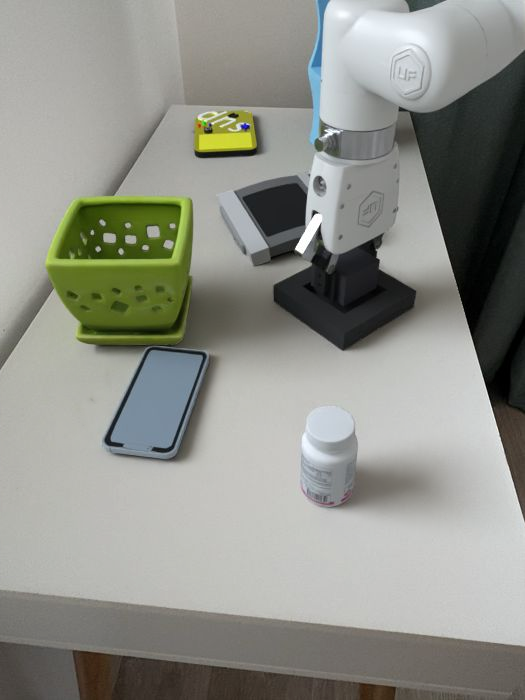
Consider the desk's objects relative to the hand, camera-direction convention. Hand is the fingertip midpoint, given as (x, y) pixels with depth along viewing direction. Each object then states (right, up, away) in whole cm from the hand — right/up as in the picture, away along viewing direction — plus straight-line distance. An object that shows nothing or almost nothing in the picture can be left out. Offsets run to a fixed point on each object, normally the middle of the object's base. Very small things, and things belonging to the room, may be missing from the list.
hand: (344, 283), depth 74 cm
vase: (+4, +28, +36) cm, 46 cm away
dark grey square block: (0, 0, 0) cm, 0 cm away
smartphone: (-20, -13, -9) cm, 26 cm away
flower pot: (-24, -4, +1) cm, 25 cm away
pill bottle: (-4, -20, -18) cm, 27 cm away
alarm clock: (-6, +10, +17) cm, 20 cm away
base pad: (0, -2, +2) cm, 3 cm away
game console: (-16, +31, +40) cm, 53 cm away
